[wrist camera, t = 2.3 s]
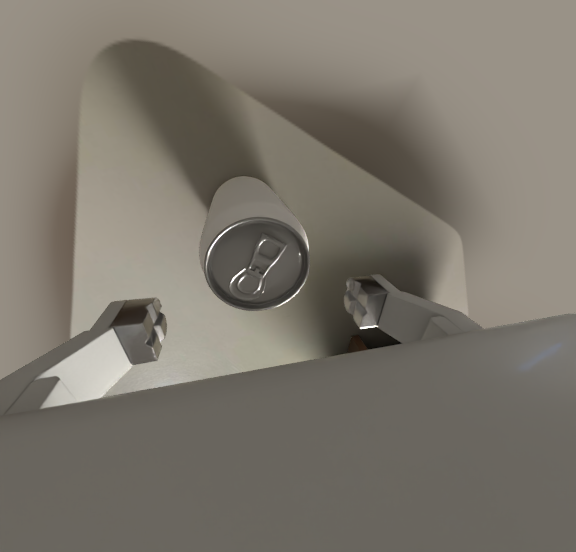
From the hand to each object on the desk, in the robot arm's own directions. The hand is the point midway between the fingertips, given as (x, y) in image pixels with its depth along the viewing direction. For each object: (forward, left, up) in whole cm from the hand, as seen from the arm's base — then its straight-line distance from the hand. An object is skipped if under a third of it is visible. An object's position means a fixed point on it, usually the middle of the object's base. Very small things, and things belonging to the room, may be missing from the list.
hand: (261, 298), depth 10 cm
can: (0, 0, -15) cm, 15 cm away
